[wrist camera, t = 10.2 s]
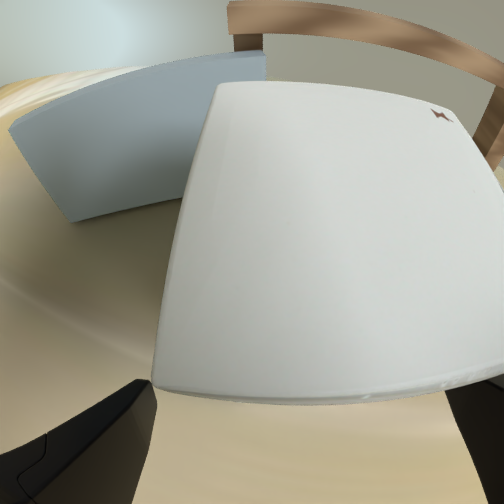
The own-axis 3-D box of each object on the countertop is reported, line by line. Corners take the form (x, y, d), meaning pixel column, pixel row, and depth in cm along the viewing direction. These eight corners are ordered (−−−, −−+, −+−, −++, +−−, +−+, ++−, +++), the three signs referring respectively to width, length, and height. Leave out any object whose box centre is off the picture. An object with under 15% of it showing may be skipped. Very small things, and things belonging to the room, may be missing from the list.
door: (259, 162, 22) (257, 44, 14) (265, 183, 21) (266, 55, 12) (76, 201, 21) (22, 110, 12) (70, 223, 20) (7, 130, 11)
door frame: (241, 193, 21) (226, 6, 9) (242, 157, 23) (231, -2, 12) (474, 201, 21) (538, 89, 9) (457, 170, 23) (507, 63, 11)
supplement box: (242, 280, 17) (214, 75, 7) (361, 283, 17) (458, 105, 6) (233, 404, 14) (129, 389, 3) (368, 402, 13) (565, 347, 2)
